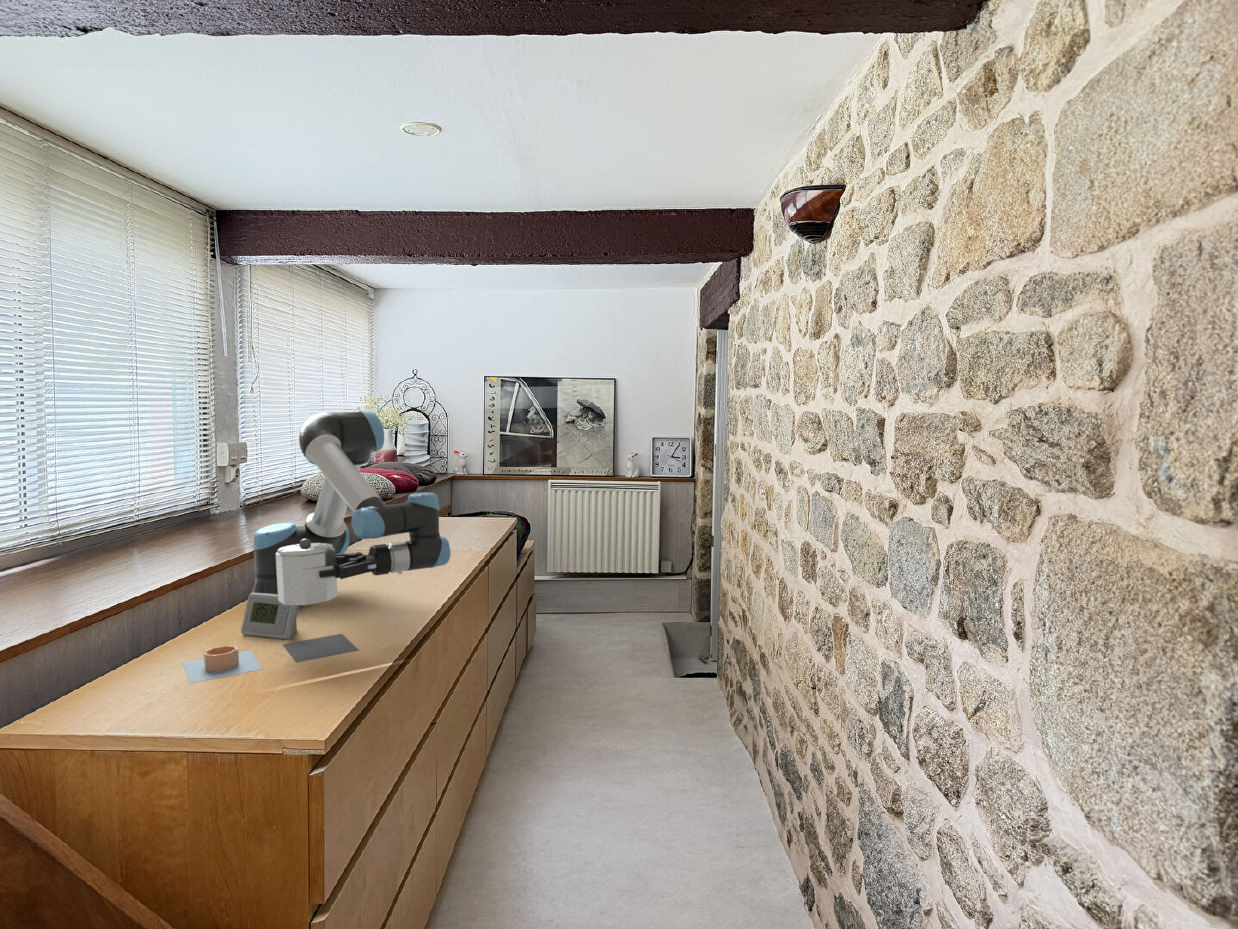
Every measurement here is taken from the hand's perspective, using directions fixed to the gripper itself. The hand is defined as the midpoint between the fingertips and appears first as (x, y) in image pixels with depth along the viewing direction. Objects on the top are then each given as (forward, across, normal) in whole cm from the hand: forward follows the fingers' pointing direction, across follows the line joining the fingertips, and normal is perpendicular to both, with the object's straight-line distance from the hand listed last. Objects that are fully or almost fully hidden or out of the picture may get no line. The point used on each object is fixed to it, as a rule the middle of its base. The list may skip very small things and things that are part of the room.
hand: (296, 570), depth 175 cm
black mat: (-4, 0, -20) cm, 20 cm away
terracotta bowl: (+17, 0, -19) cm, 26 cm away
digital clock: (+3, +19, -20) cm, 28 cm away
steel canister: (-2, 0, -7) cm, 7 cm away
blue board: (+17, 0, -20) cm, 26 cm away
